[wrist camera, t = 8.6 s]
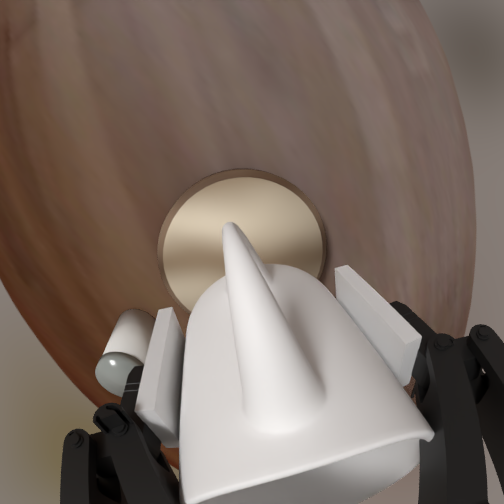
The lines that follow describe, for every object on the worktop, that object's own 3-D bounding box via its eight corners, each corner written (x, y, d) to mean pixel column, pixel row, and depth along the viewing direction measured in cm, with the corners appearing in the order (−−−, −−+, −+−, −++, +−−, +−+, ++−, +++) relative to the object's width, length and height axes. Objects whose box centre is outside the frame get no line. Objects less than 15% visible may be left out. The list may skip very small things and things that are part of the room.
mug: (309, 174, 13) (513, 250, 3) (335, 353, 17) (407, 481, 7) (139, 223, 12) (11, 398, 2) (215, 388, 17) (230, 534, 7)
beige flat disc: (141, 192, 19) (134, 196, 17) (308, 155, 20) (317, 155, 18) (187, 331, 24) (186, 345, 22) (324, 298, 25) (332, 310, 23)
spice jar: (110, 312, 22) (85, 362, 16) (150, 304, 22) (133, 357, 16) (128, 346, 24) (112, 399, 17) (166, 340, 24) (157, 396, 18)
